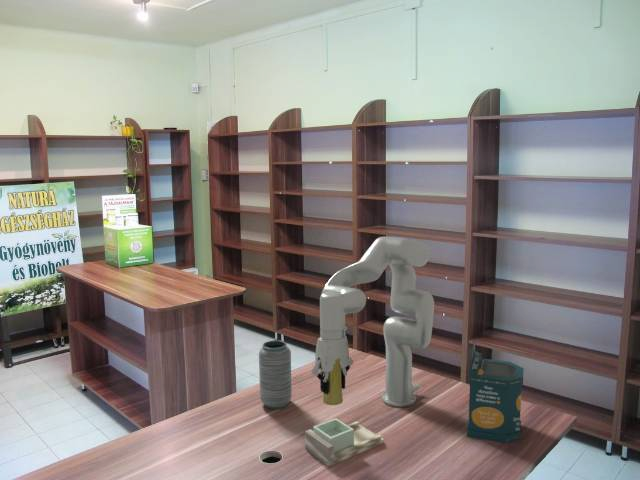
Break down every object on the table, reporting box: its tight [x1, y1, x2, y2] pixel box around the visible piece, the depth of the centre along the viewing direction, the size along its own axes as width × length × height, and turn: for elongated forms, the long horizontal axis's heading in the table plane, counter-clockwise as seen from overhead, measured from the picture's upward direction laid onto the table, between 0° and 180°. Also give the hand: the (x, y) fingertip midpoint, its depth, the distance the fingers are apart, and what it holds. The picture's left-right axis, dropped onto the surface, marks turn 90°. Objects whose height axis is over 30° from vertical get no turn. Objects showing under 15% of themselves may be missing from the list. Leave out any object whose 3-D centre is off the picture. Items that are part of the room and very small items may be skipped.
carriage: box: [312, 417, 354, 454], centre depth 167 cm, size 9×9×6 cm
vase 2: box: [322, 359, 344, 406], centre depth 165 cm, size 6×6×14 cm
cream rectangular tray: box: [304, 420, 385, 467], centre depth 170 cm, size 22×12×6 cm, turn 126°
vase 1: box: [258, 340, 293, 410], centre depth 197 cm, size 12×12×23 cm
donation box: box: [466, 338, 525, 444], centre depth 177 cm, size 16×16×28 cm
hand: (333, 389), depth 165 cm, fingers closed on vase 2, 5 cm apart
